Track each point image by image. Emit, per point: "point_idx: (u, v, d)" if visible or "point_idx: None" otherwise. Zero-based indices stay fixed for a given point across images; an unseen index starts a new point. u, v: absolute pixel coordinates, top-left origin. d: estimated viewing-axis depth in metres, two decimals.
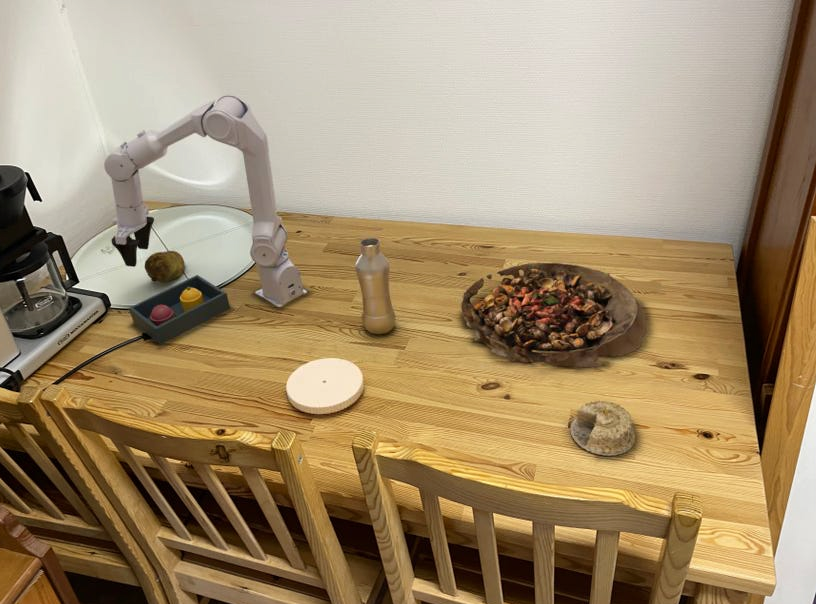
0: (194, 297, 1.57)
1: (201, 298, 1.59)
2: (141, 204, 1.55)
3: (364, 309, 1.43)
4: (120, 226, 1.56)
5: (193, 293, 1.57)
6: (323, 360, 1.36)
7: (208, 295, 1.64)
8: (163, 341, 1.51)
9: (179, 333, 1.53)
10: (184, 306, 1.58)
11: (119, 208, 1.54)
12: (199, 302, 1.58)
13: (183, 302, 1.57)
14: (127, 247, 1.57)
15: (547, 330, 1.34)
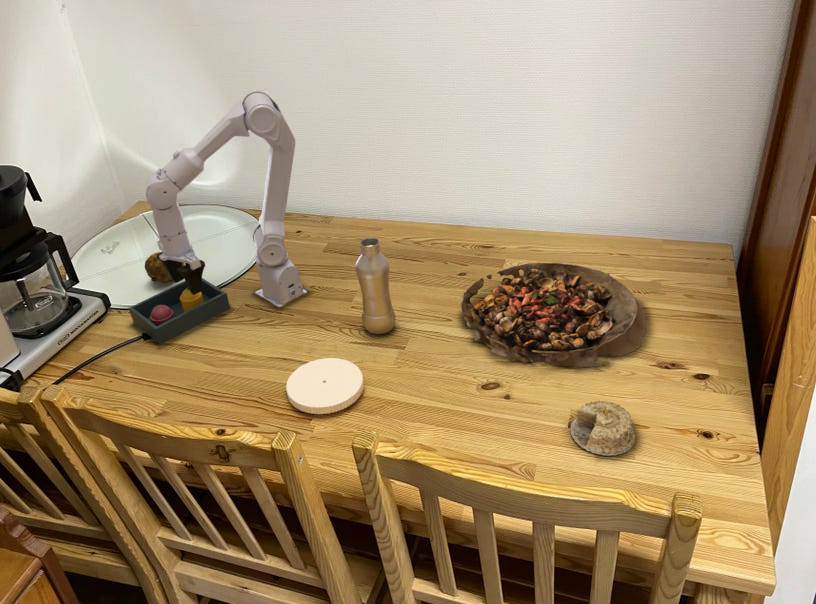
0: (194, 297, 1.57)
1: (201, 298, 1.59)
2: None
3: (364, 309, 1.43)
4: (177, 257, 1.50)
5: None
6: (323, 360, 1.36)
7: (208, 295, 1.64)
8: (163, 341, 1.51)
9: (179, 333, 1.53)
10: (184, 306, 1.58)
11: (173, 238, 1.48)
12: (199, 302, 1.58)
13: (183, 302, 1.57)
14: (192, 273, 1.52)
15: (547, 330, 1.34)
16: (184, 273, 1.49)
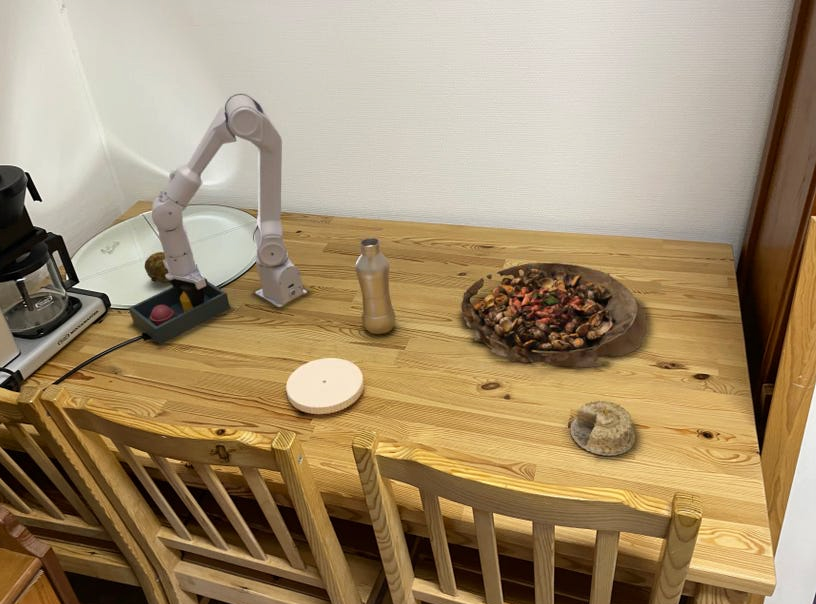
0: None
1: None
2: None
3: (364, 309, 1.43)
4: (183, 276, 1.52)
5: None
6: (323, 360, 1.36)
7: (208, 295, 1.64)
8: (163, 341, 1.51)
9: (179, 333, 1.53)
10: (184, 306, 1.58)
11: (179, 258, 1.50)
12: None
13: (183, 302, 1.57)
14: (195, 290, 1.55)
15: (547, 330, 1.34)
16: (187, 291, 1.52)
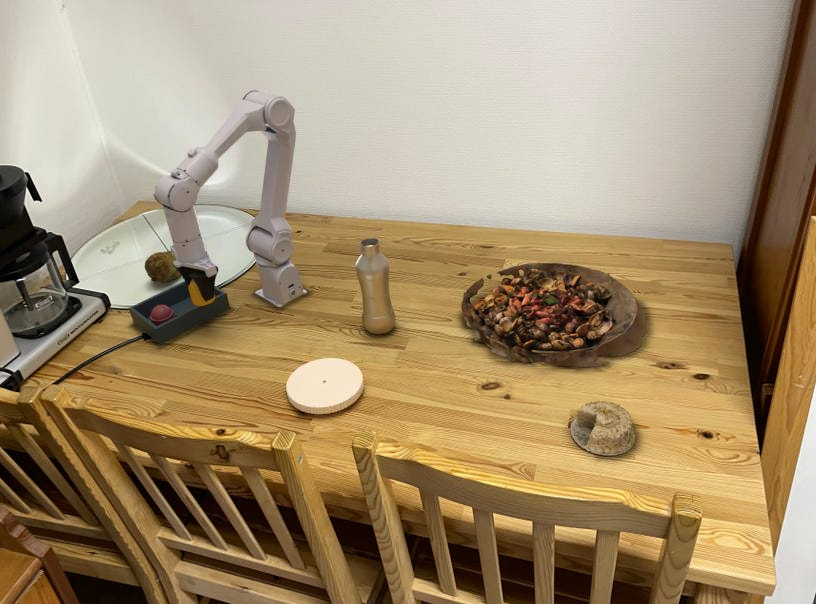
0: None
1: None
2: None
3: (364, 309, 1.43)
4: (192, 263, 1.41)
5: None
6: (323, 360, 1.36)
7: None
8: (163, 341, 1.51)
9: (179, 333, 1.53)
10: (193, 296, 1.47)
11: (188, 243, 1.39)
12: None
13: (192, 291, 1.46)
14: (205, 279, 1.44)
15: (547, 330, 1.34)
16: (196, 279, 1.41)
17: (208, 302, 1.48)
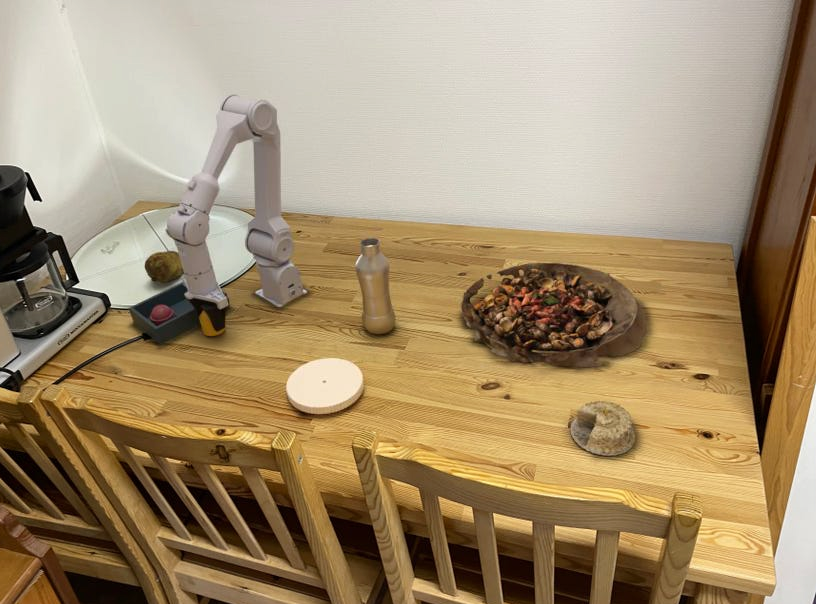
0: None
1: None
2: None
3: (364, 309, 1.43)
4: (203, 295, 1.44)
5: None
6: (323, 360, 1.36)
7: None
8: (163, 341, 1.51)
9: (179, 333, 1.53)
10: (204, 326, 1.49)
11: (200, 276, 1.41)
12: None
13: (203, 322, 1.48)
14: (216, 310, 1.46)
15: (547, 330, 1.34)
16: (208, 311, 1.43)
17: (219, 332, 1.50)
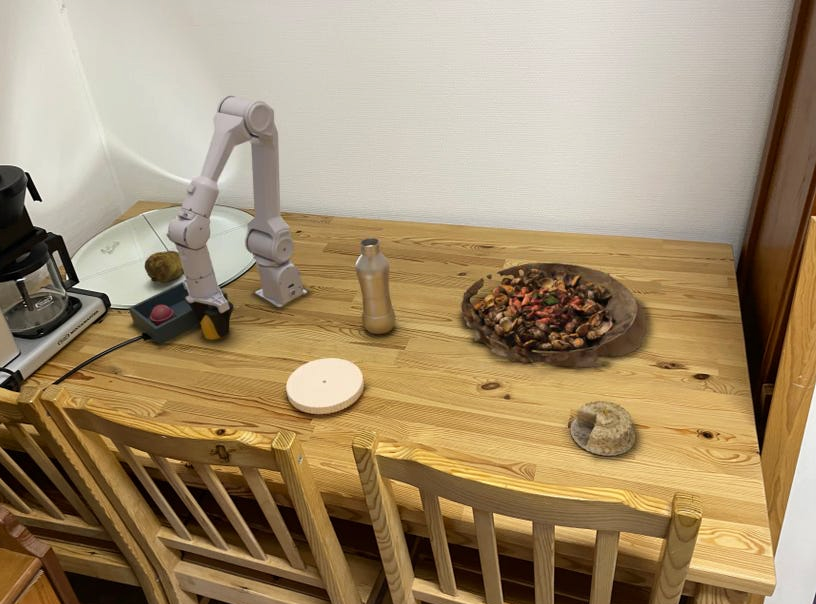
0: None
1: None
2: None
3: (364, 309, 1.43)
4: (204, 299, 1.44)
5: None
6: (323, 360, 1.36)
7: None
8: (163, 341, 1.51)
9: (179, 333, 1.53)
10: (205, 332, 1.50)
11: (201, 280, 1.42)
12: None
13: (204, 328, 1.49)
14: (220, 315, 1.46)
15: (547, 330, 1.34)
16: (212, 316, 1.43)
17: None
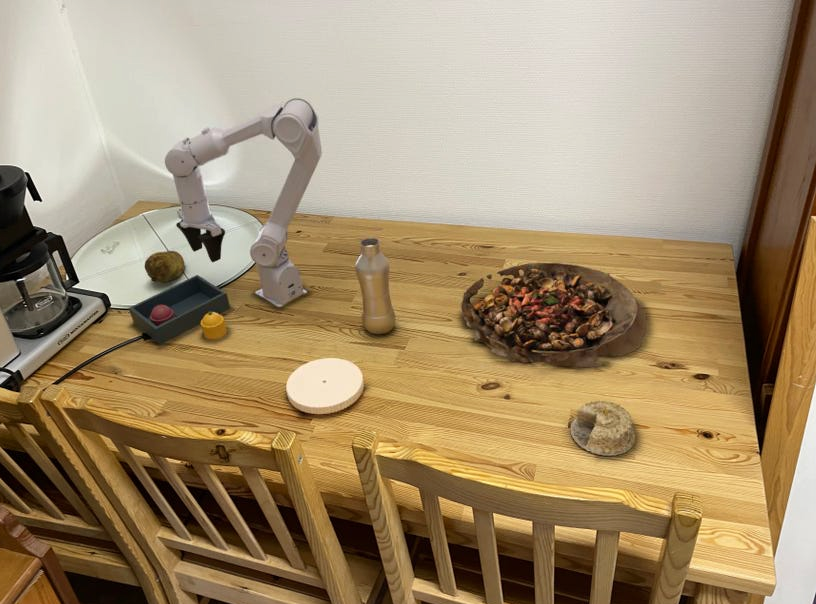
0: (216, 322, 1.49)
1: (223, 323, 1.50)
2: None
3: (364, 309, 1.43)
4: (198, 224, 1.53)
5: (215, 318, 1.49)
6: (323, 360, 1.36)
7: (208, 295, 1.64)
8: (163, 341, 1.51)
9: (179, 333, 1.53)
10: (205, 332, 1.50)
11: (194, 205, 1.51)
12: (221, 328, 1.50)
13: (204, 328, 1.49)
14: (212, 240, 1.55)
15: (547, 330, 1.34)
16: (205, 240, 1.52)
17: None
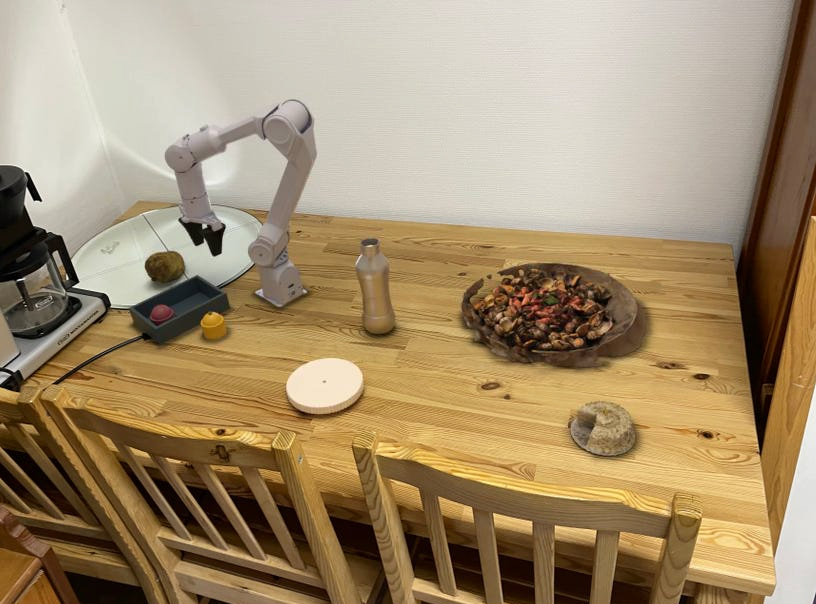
0: (216, 322, 1.49)
1: (223, 323, 1.50)
2: None
3: (364, 309, 1.43)
4: (199, 219, 1.55)
5: (215, 318, 1.49)
6: (323, 360, 1.36)
7: (208, 295, 1.64)
8: (163, 341, 1.51)
9: (179, 333, 1.53)
10: (205, 332, 1.50)
11: (195, 200, 1.53)
12: (221, 328, 1.50)
13: (204, 328, 1.49)
14: (213, 235, 1.57)
15: (547, 330, 1.34)
16: (206, 234, 1.54)
17: None
